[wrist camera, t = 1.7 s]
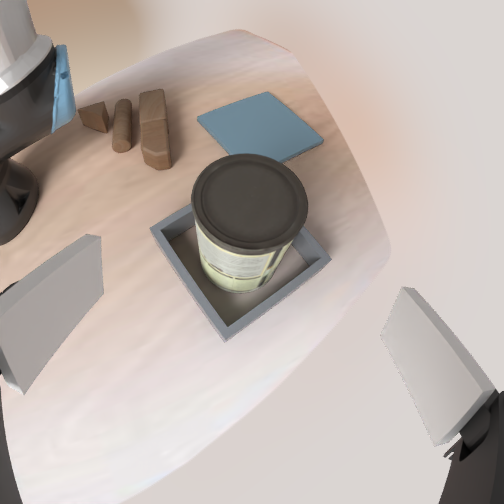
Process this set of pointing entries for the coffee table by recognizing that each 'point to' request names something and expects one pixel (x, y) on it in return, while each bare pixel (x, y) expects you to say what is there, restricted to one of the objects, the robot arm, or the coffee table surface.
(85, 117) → the wooden block set
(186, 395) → the coffee table surface
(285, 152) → the board
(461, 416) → the robot arm
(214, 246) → the coffee can
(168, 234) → the bin
